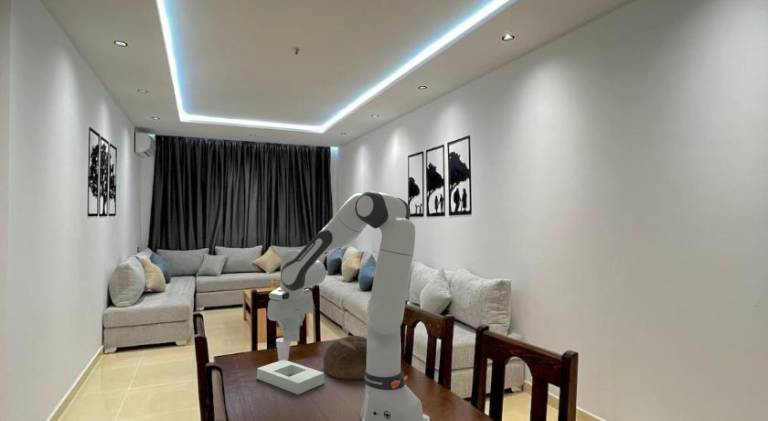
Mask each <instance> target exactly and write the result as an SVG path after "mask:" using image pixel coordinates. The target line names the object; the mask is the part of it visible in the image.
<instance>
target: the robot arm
mask: <svg viewBox="0 0 768 421" xmlns="http://www.w3.org/2000/svg"><path fill="white" fill-rule="evenodd" d="M410 218H411V208H410V205H409V204H408V203H407V202H406V200H403V199H402V198H400V197H396V196H393V195H391V194H389V193H385V192H379V191H375V190H374V191H373V190H371V191H370V190H369V191H365V192H361V193H360V192H359V193H358V192H357V193H355V194H353V195H352V196H350V198H349V199H347V200H346V201H345V202H344V204H342V206H340V208H339V210H338V211H336V213H335V214H334V215H333V217H332V218H331V219H330V220H329V222H328V223H327V224H325V226H324V227H323V228H322V229H321V230H320V231H319V232H318V233H317V234H316V235H315V236H313V237H312V238H311V239H310V241H309V242H308V243H307V244H306V245H305V246H304V247H303V248H302V249H300V248H299V249H298V248H297V249H289V250H285V251H283V253H282V255H281V260H280V279H281V281H280V283H279V284H280V285H279V287H278V288H276V289H274V290H272V291H271V292H269V294H268V298H269V299H270V300H268V303H267V304H268V305H267V311H266V312H267V318H268V319H269V321H271V322H272V321H274V322H277V324H278V326H279V331H280V332H283V331H284V330H286V326H285V325H284V324H283V322H284V319H285V318H290V317H292V316H293V310H296V309H299V310H300V325H299V327H302V326H303V321H304V320H305V317H306V314H311V313H312V312H313V311H314V299H313V291H312V290H311V289H310V288H307V287H312V286H315V285H319V284H321V283H323V282H324V281H325V278H326V276H327V275H326V274H327V271H326V267H325V264H324V263H323V262H322V261H321V260H319V259H320V258H321V257H322V256H323V255H325V254H326V253H328V252H329V251H332V250H334V249H338V248H340V247H344V246H347V245H350V244H351V243H352V242H353V241H355V240H356V239H357V238H358V237H359V236H360V234H361V233H362V232H363V231H364V229H365V228H366V227H367V225H368V226H370V227H371V228H373V229H379V230H380V232H381V238H380V239H381V240H380V244H379V249H378V254H377V259H376V264H375V270H374V275H373V282H372V287H371V292H370V293H371V294H370V297H369V298H368V301H367V306H366V307H367V308H366V309H367V310H366V338H367V358H366V370H365V378H364V383H365V388H364V395H363V402H362V407H361V411H360V413H359V416H360V418H361V420H362V421H430V419H431V418H430V416H429V415H428V414H426V413H424V412H423V405H422V402H421V400H420V398H418V396H416V394H415V393H414V392H413V391H412V390H411V389H410V388H409V387H408V386H407V385H406V381H407V380H408V375H405V376H404V374H403V371H402V370H401V366H402V365H401V360H402V357H401V356H402V343H401V326H402V324H403V321H404V314H405V307H406V301H407V295H408V294H407V293H408V286H409V284H408V283H409V277H410V274H411V273H410V272H411V268H412V262H413V259H414V258H413V257H414V251H415V244H416V226H415V224H414V223H413V222H412V221H411V220H410ZM305 288H307V289H305Z"/></svg>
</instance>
